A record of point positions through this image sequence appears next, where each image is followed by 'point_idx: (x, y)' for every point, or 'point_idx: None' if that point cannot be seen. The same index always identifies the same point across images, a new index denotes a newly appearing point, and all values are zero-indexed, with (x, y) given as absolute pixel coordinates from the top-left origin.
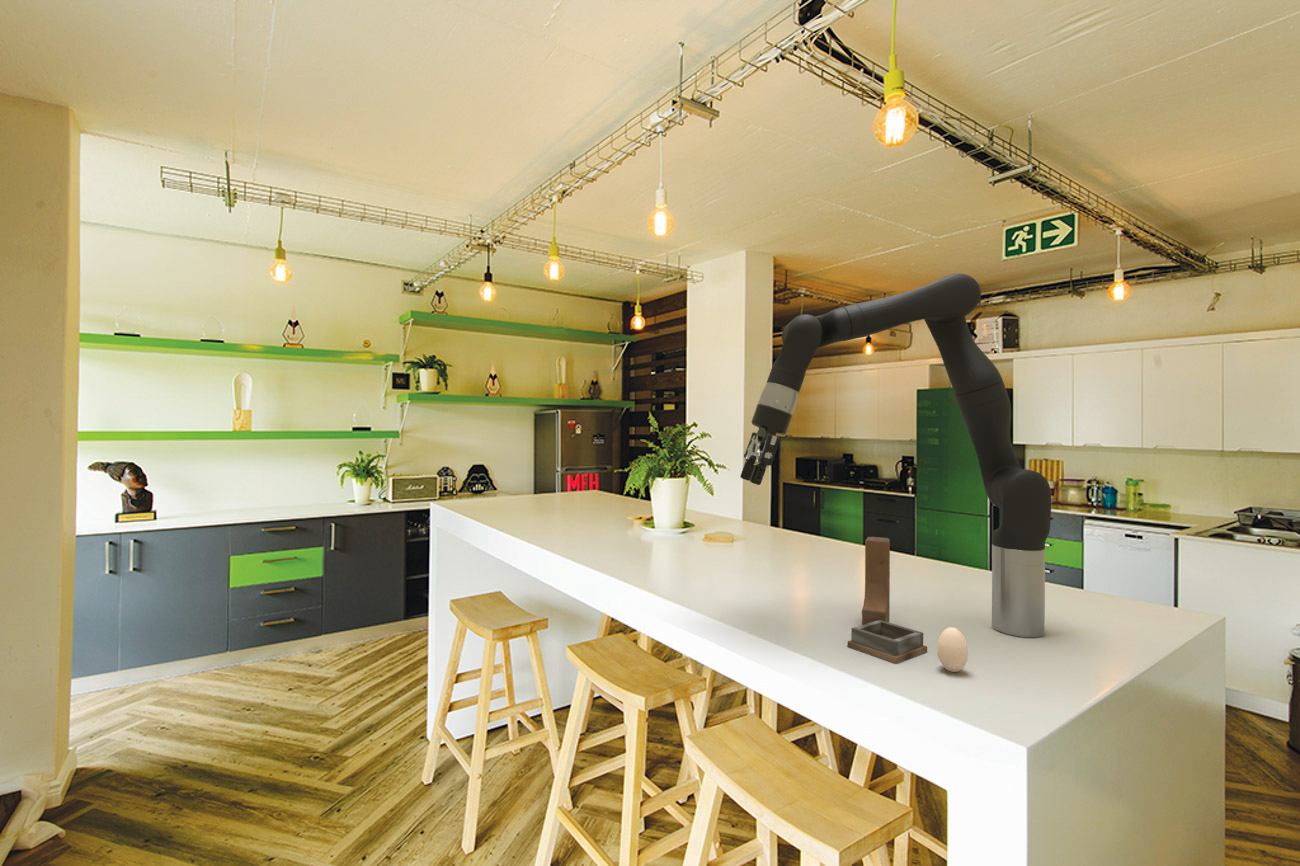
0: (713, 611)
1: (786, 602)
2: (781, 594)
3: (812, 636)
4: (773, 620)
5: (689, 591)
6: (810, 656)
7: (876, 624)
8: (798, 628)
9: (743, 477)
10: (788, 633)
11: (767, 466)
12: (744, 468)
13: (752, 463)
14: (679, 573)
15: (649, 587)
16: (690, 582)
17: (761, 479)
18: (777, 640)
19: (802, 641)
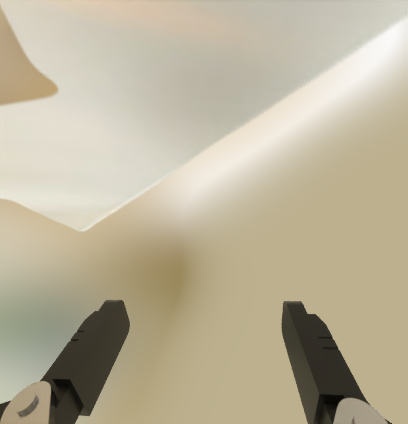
0: (164, 156)
1: (85, 25)
2: (34, 25)
3: (268, 18)
4: (191, 76)
5: (89, 175)
6: (348, 49)
7: None
8: (228, 37)
9: (125, 323)
10: (250, 63)
11: (379, 418)
12: (109, 369)
13: (69, 395)
14: (10, 181)
15: (92, 212)
16: (47, 171)
17: (308, 323)
18: (276, 88)
19: (287, 46)
